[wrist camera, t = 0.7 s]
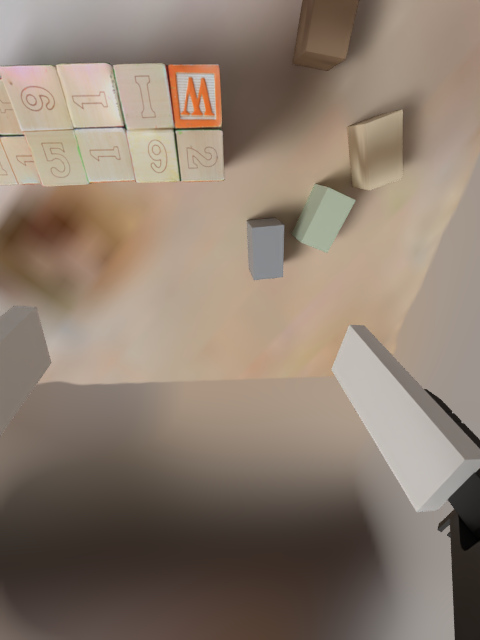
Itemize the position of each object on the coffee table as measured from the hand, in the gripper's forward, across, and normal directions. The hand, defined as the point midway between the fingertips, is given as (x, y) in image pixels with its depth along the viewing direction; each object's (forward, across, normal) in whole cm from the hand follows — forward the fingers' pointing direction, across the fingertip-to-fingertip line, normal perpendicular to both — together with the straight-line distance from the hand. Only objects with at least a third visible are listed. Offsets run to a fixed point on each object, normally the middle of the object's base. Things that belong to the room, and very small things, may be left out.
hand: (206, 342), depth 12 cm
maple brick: (+24, +17, +10) cm, 31 cm away
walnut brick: (+24, +9, +18) cm, 31 cm away
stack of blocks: (+24, -10, +7) cm, 27 cm away
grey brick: (+24, +8, -2) cm, 25 cm away
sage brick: (+24, +13, +2) cm, 27 cm away
